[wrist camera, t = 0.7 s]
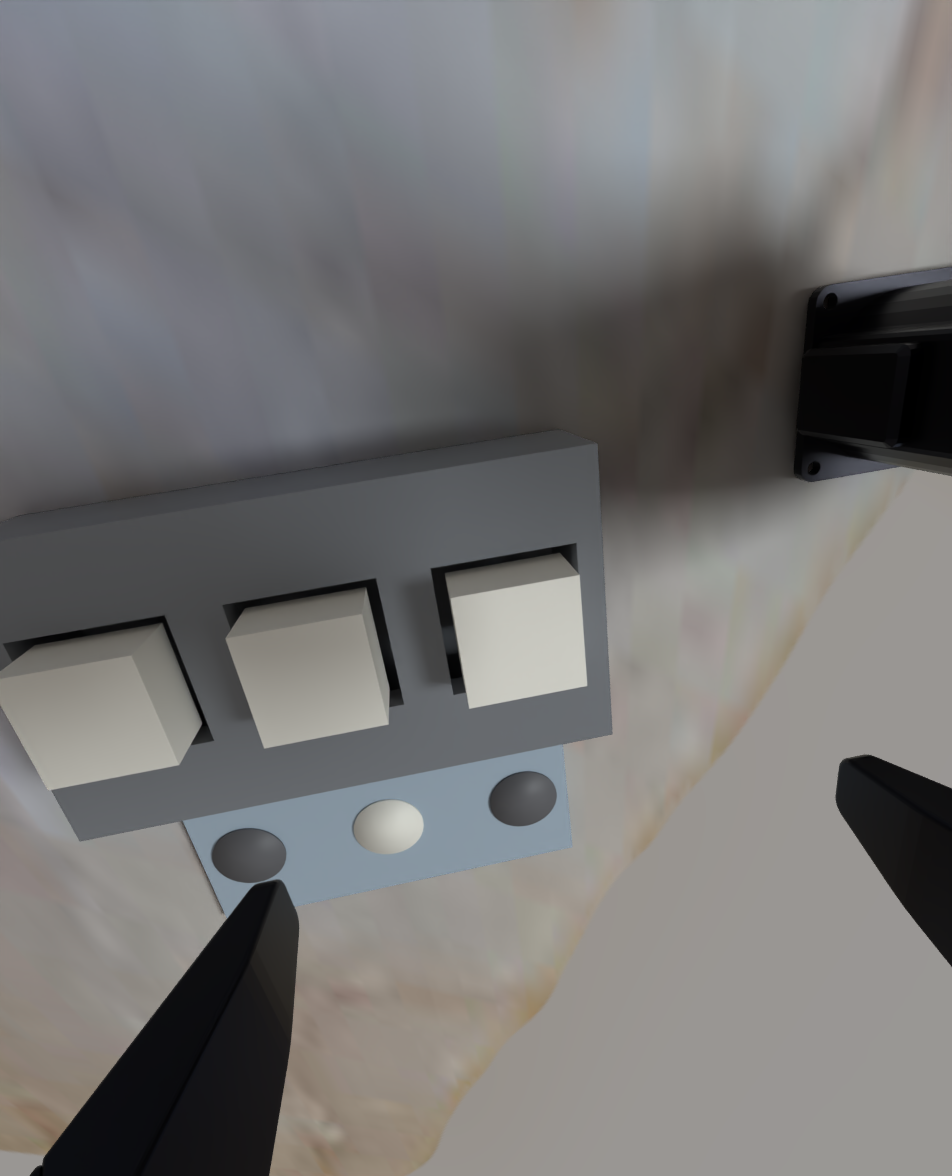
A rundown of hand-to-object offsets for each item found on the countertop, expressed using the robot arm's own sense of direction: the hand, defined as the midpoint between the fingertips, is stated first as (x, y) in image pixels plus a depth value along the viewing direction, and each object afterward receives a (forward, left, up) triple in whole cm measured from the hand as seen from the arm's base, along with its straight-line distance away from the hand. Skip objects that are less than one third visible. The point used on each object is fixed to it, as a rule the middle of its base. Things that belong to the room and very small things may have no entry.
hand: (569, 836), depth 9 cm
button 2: (-1, +1, -9) cm, 9 cm away
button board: (+5, +1, -13) cm, 14 cm away
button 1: (+11, +1, -9) cm, 15 cm away
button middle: (+5, +1, -9) cm, 11 cm away
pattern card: (+5, +11, -13) cm, 18 cm away
